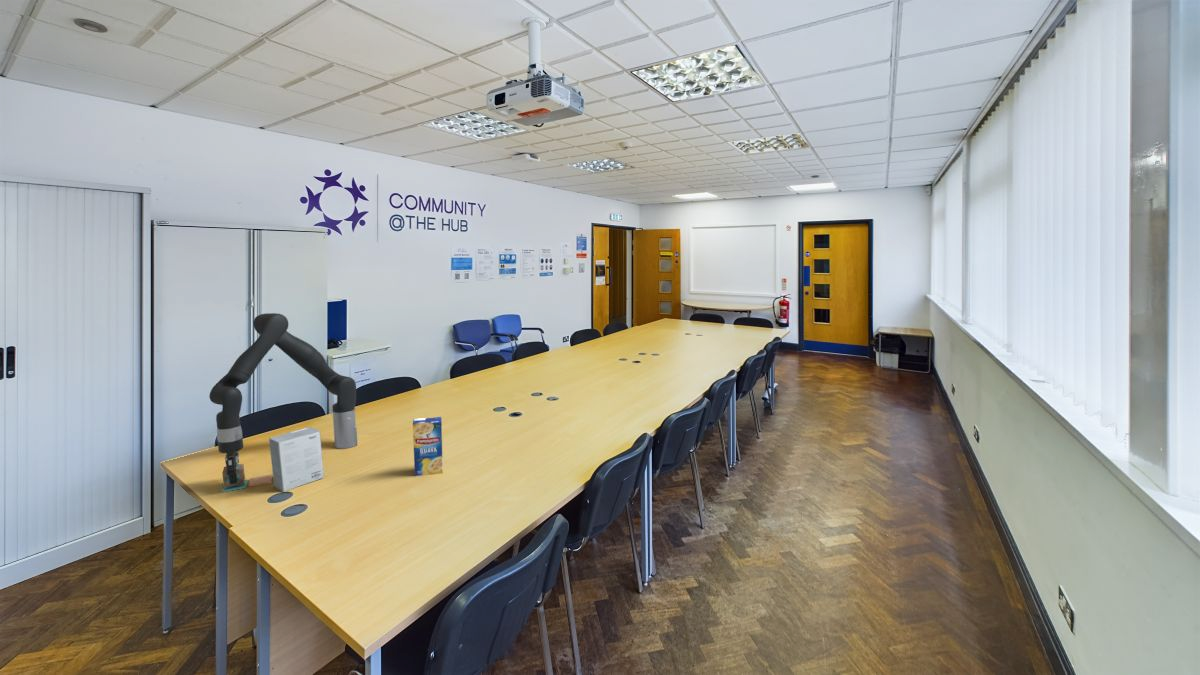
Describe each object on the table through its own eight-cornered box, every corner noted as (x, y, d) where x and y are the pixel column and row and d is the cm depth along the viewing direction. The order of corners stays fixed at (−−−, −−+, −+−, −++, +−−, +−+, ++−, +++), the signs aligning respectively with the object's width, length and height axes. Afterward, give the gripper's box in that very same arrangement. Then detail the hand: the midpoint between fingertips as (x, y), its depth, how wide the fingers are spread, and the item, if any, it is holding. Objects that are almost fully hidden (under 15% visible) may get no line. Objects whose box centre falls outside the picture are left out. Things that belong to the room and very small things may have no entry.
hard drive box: (315, 473, 201) (311, 426, 198) (324, 478, 197) (321, 430, 194) (272, 487, 188) (268, 437, 185) (282, 492, 184) (277, 441, 181)
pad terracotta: (271, 475, 198) (271, 474, 198) (270, 482, 192) (270, 481, 192) (250, 479, 194) (250, 478, 194) (248, 486, 188) (248, 485, 188)
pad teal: (246, 481, 193) (246, 479, 193) (245, 488, 187) (245, 486, 187) (224, 485, 189) (224, 483, 189) (222, 492, 183) (222, 490, 183)
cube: (244, 478, 192) (243, 463, 191) (243, 484, 187) (242, 469, 186) (225, 481, 189) (224, 466, 188) (223, 487, 184) (222, 472, 183)
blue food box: (415, 469, 207) (413, 418, 203) (443, 466, 210) (441, 416, 206) (414, 476, 200) (412, 424, 197) (442, 473, 203) (441, 422, 200)
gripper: (240, 442, 181) (244, 485, 184) (244, 430, 193) (248, 470, 196) (214, 446, 177) (219, 489, 180) (220, 433, 189) (224, 474, 192)
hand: (234, 479), depth 188 cm, fingers closed on cube, 6 cm apart
